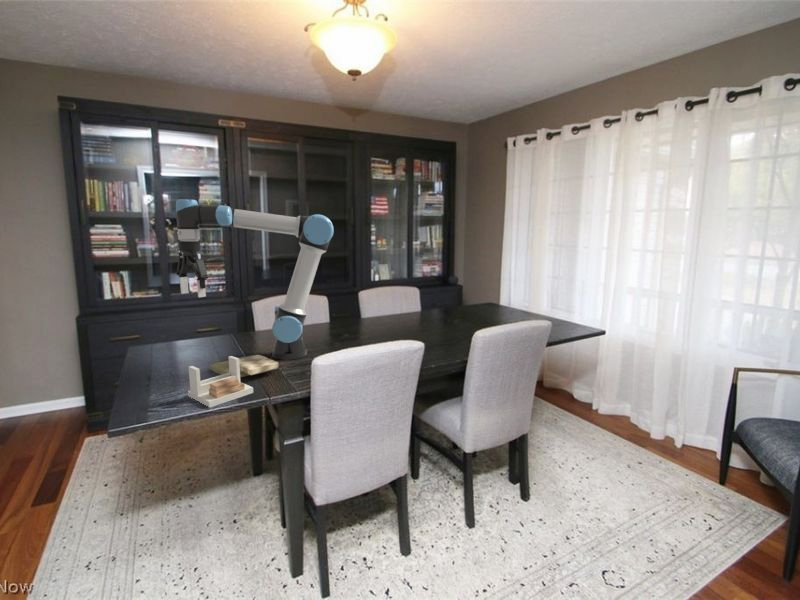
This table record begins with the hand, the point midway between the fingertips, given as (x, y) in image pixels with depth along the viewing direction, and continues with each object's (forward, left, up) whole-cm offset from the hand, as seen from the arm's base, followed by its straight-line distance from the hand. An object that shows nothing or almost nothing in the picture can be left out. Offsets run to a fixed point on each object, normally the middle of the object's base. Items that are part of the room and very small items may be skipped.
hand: (193, 295), depth 165 cm
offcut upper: (+9, +35, -27) cm, 45 cm away
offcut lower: (+8, +35, -29) cm, 46 cm away
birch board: (-12, +15, -27) cm, 33 cm away
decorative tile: (-12, +14, -32) cm, 37 cm away
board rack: (+8, +31, -31) cm, 44 cm away
